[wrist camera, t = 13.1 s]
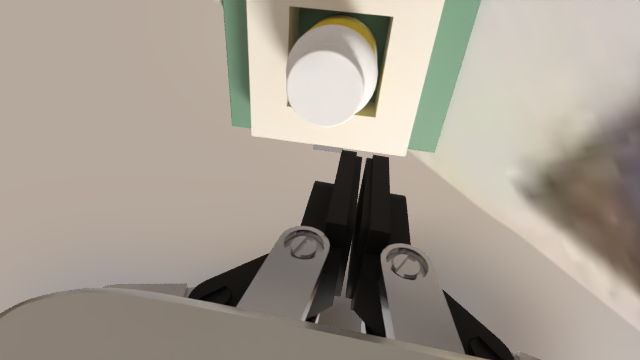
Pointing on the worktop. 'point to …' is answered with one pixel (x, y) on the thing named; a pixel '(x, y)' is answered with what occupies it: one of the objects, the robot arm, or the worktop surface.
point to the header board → (392, 61)
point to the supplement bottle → (332, 71)
